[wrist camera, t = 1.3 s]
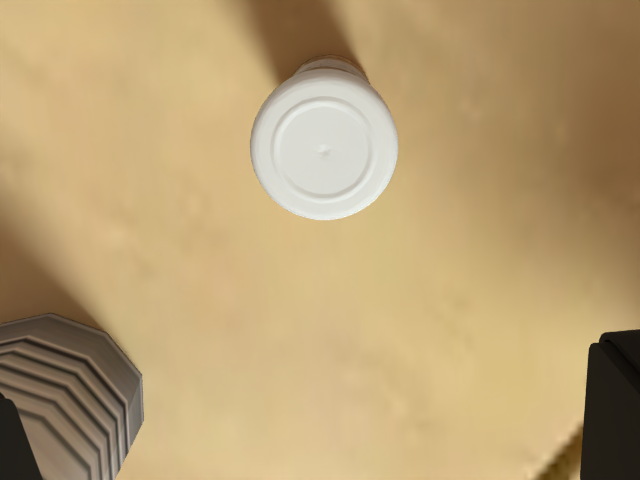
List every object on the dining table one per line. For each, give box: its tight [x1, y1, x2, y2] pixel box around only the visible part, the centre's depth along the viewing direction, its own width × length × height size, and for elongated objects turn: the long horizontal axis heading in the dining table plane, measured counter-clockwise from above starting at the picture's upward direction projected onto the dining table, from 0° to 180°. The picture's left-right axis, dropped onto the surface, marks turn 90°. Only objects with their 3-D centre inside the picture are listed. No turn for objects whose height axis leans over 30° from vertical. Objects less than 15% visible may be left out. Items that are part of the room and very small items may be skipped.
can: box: [0, 313, 144, 480], centre depth 31 cm, size 11×11×12 cm
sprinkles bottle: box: [250, 55, 398, 220], centre depth 23 cm, size 5×5×14 cm
